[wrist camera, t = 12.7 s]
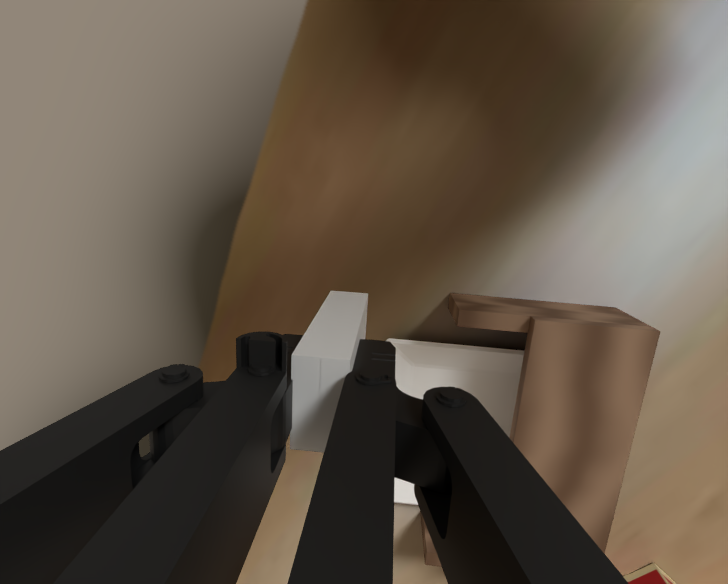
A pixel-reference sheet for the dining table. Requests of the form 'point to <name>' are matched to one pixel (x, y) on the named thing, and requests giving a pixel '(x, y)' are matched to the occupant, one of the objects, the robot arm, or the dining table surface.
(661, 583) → the milk carton
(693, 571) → the dining table surface
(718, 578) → the dining table surface
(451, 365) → the plate
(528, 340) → the overhang shelf
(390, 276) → the dining table surface
